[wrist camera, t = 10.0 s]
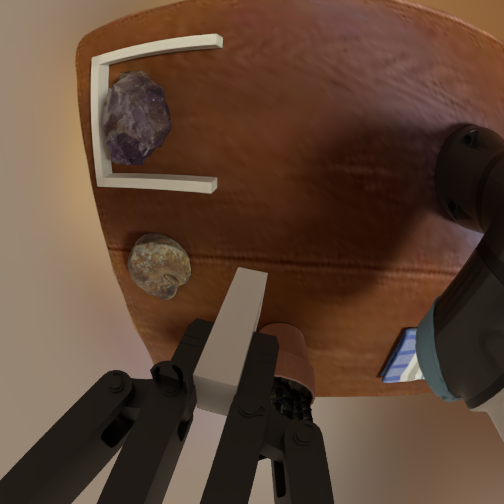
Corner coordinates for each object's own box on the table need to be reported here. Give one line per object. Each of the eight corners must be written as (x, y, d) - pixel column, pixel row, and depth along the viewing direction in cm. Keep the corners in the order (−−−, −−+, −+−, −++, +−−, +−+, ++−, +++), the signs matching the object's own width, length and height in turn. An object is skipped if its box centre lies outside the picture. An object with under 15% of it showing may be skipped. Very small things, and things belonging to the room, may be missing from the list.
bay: (222, 37, 26) (217, 33, 24) (217, 187, 37) (211, 193, 35) (102, 58, 28) (91, 57, 26) (106, 181, 39) (97, 186, 37)
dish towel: (456, 371, 49) (458, 380, 47) (377, 375, 53) (378, 385, 50) (489, 322, 40) (494, 331, 38) (405, 323, 44) (408, 334, 41)
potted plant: (251, 358, 55) (223, 468, 34) (239, 312, 48) (197, 441, 27) (317, 359, 52) (308, 476, 30) (317, 311, 45) (310, 454, 24)
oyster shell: (123, 267, 49) (107, 285, 44) (152, 213, 41) (133, 230, 36) (169, 302, 51) (156, 322, 46) (207, 256, 44) (194, 277, 39)
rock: (130, 145, 37) (189, 150, 36) (93, 169, 30) (158, 176, 29) (126, 70, 29) (191, 65, 28) (82, 80, 22) (154, 71, 21)
